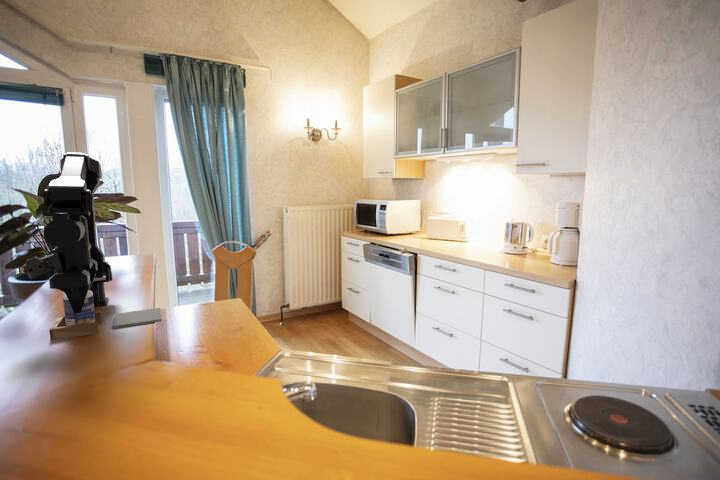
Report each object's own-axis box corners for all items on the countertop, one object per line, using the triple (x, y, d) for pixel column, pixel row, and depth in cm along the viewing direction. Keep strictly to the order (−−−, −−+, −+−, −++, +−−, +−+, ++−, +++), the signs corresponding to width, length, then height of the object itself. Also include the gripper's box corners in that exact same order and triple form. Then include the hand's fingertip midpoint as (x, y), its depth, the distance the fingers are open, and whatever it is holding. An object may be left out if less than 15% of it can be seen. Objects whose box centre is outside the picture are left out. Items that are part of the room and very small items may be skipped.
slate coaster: (115, 316, 92) (115, 313, 92) (160, 309, 97) (159, 307, 97) (112, 328, 84) (111, 326, 84) (161, 321, 89) (161, 318, 89)
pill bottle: (79, 329, 80) (75, 286, 79) (59, 327, 81) (55, 284, 80) (101, 321, 85) (97, 280, 84) (82, 319, 86) (78, 279, 85)
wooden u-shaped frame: (59, 326, 85) (58, 316, 85) (102, 320, 89) (101, 311, 89) (50, 340, 77) (49, 329, 77) (97, 333, 81) (96, 322, 81)
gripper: (36, 238, 85) (43, 303, 87) (10, 250, 69) (20, 329, 71) (95, 236, 90) (100, 297, 92) (84, 245, 74) (91, 319, 76)
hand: (79, 309), depth 83 cm, fingers closed on pill bottle, 5 cm apart
